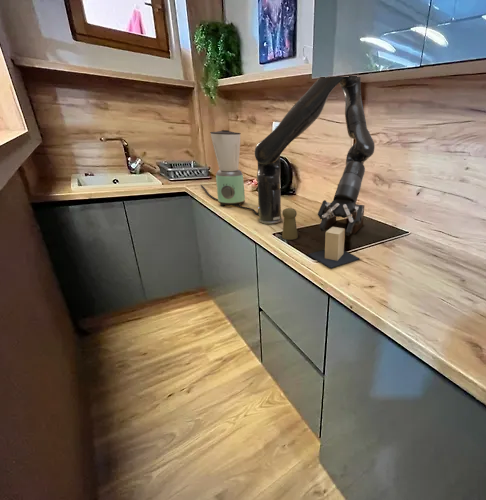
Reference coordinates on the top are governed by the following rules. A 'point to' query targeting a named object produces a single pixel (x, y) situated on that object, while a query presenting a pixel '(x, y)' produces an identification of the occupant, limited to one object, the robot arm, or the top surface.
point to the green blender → (228, 168)
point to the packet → (334, 243)
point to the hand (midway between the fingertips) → (334, 232)
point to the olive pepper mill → (289, 224)
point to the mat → (333, 263)
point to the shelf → (354, 214)
